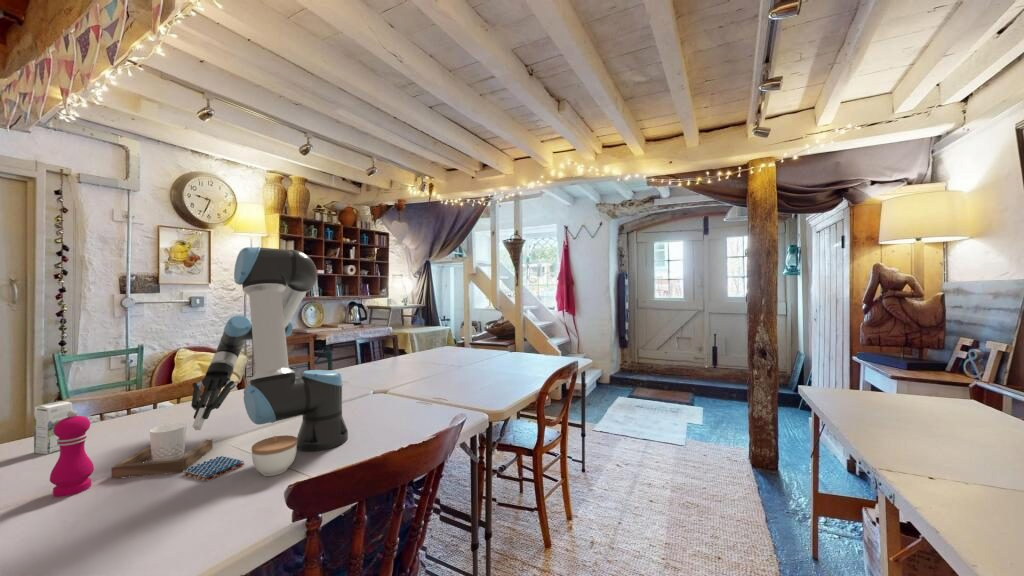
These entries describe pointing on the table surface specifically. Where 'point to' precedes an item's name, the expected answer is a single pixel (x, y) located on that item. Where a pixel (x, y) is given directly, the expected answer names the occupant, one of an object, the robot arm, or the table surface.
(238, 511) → the table surface
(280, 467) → the lidded jar
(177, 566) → the table surface
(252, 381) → the robot arm
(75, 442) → the pepper mill
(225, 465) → the woven mat
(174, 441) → the white cup
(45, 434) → the syrup box
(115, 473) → the walnut bay
